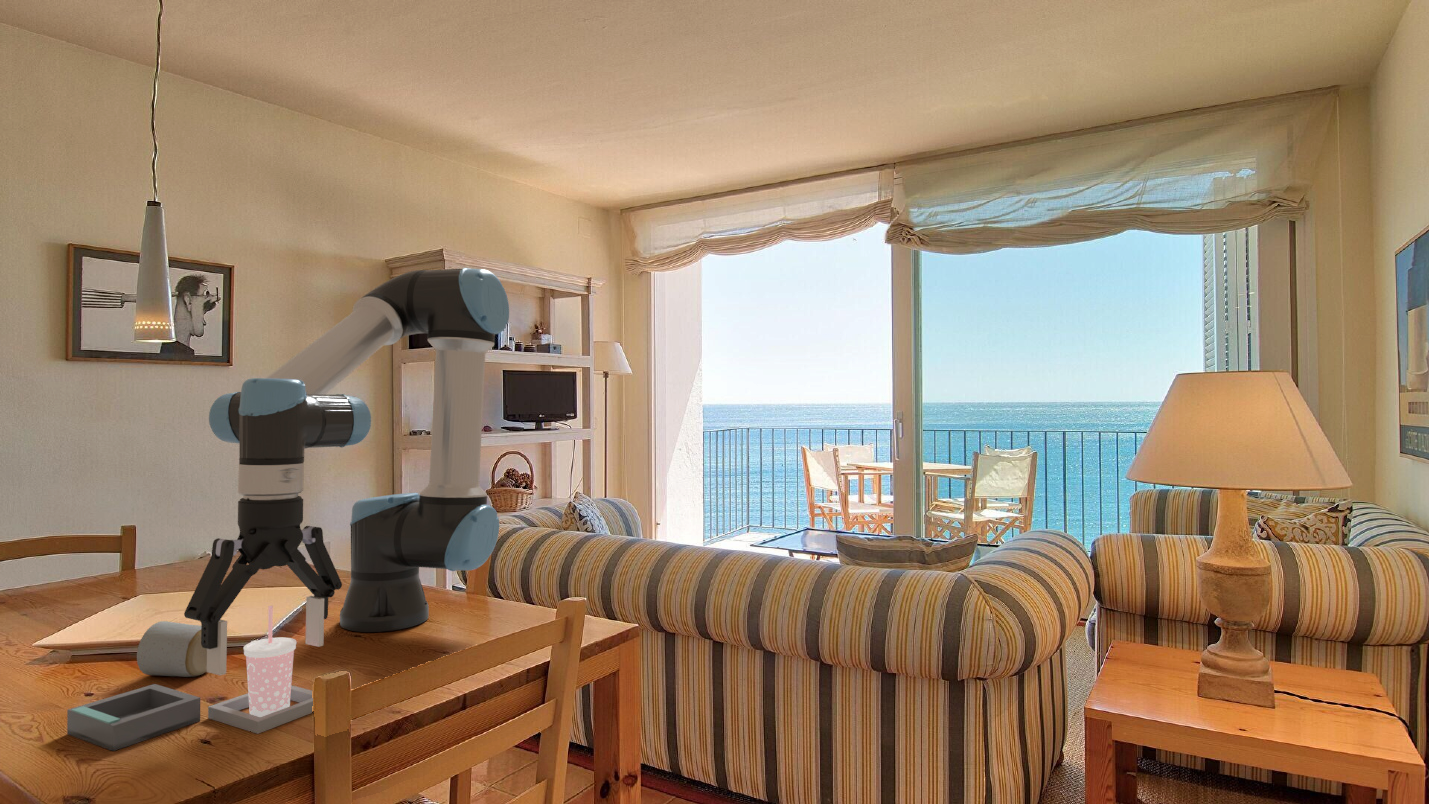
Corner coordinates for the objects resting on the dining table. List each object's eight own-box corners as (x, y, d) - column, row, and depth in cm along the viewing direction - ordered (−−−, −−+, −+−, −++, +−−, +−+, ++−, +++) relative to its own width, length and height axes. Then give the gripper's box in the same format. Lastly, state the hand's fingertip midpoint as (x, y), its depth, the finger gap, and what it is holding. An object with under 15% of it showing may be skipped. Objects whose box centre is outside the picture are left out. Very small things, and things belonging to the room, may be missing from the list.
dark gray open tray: (154, 706, 108) (154, 682, 108) (200, 720, 103) (200, 695, 103) (67, 734, 99) (67, 708, 99) (113, 751, 95) (113, 724, 94)
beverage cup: (245, 707, 108) (246, 602, 108) (297, 700, 111) (298, 598, 110) (239, 724, 103) (240, 614, 102) (294, 717, 105) (295, 609, 105)
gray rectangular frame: (280, 692, 113) (280, 682, 113) (328, 706, 109) (328, 695, 109) (208, 718, 104) (208, 706, 104) (257, 733, 100) (257, 721, 100)
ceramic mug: (189, 684, 116) (190, 630, 116) (134, 682, 117) (135, 628, 117) (237, 661, 127) (238, 612, 127) (186, 659, 127) (187, 610, 127)
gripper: (190, 508, 93) (187, 692, 93) (370, 489, 116) (367, 638, 116) (153, 503, 97) (149, 681, 97) (334, 486, 119) (331, 630, 119)
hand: (268, 658), depth 106 cm, fingers open, 13 cm apart
